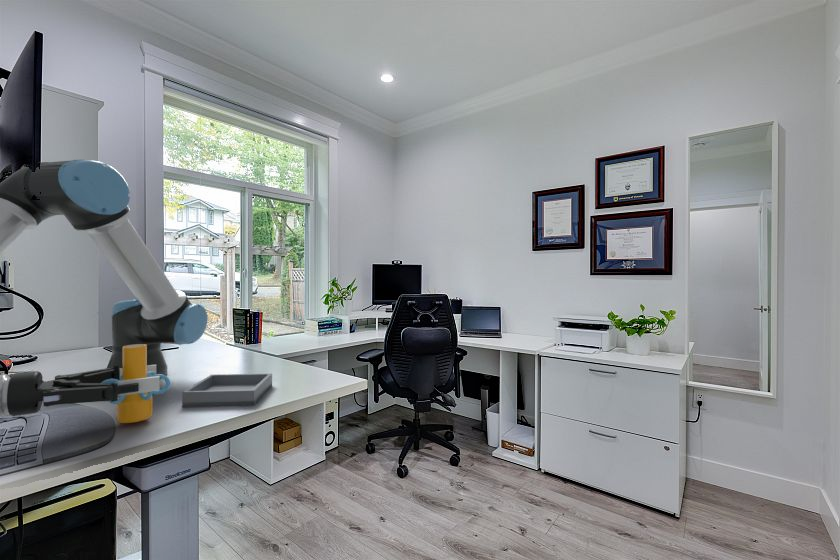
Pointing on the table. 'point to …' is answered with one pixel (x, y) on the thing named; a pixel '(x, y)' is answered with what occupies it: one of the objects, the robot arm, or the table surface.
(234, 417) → the table surface
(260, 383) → the tray
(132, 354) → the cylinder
